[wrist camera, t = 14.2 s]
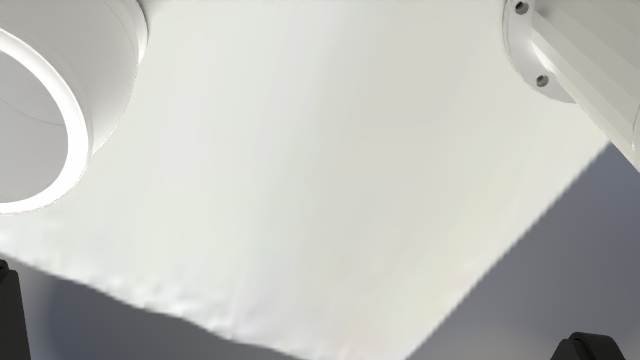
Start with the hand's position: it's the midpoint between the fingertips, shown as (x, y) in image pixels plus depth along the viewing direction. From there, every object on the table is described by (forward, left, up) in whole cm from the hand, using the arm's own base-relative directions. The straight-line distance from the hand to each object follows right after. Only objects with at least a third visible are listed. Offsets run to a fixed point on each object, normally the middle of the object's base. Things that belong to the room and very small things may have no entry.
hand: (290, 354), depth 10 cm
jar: (+15, +5, -32) cm, 35 cm away
